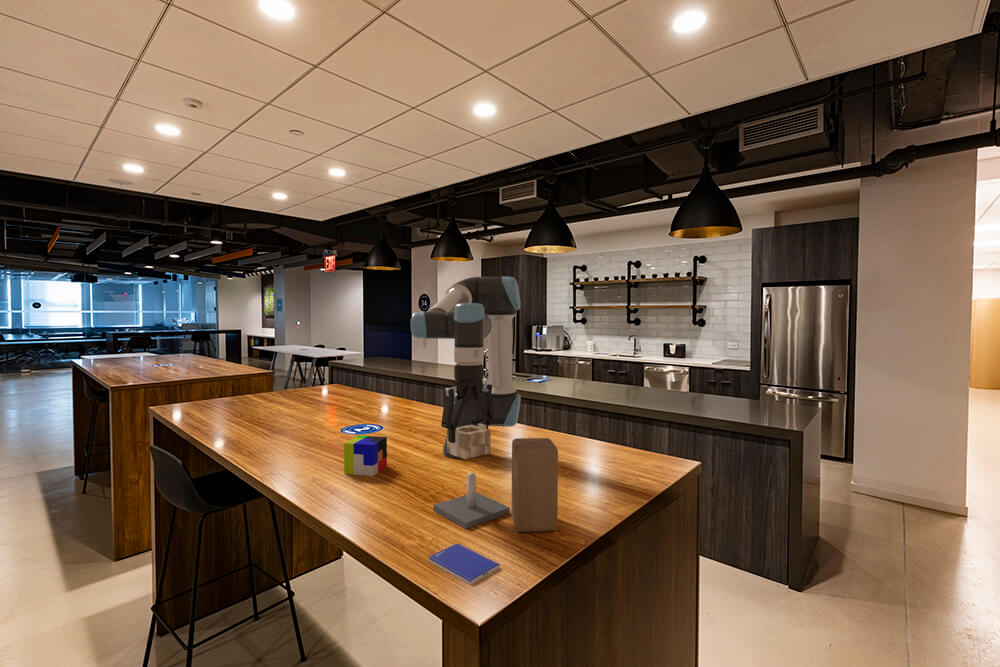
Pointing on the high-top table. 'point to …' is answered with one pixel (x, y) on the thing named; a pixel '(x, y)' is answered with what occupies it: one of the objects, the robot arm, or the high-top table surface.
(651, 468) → the high-top table surface
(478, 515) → the post board
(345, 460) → the puzzle toy
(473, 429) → the maple bead
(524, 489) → the wooden block
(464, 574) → the hard drive
